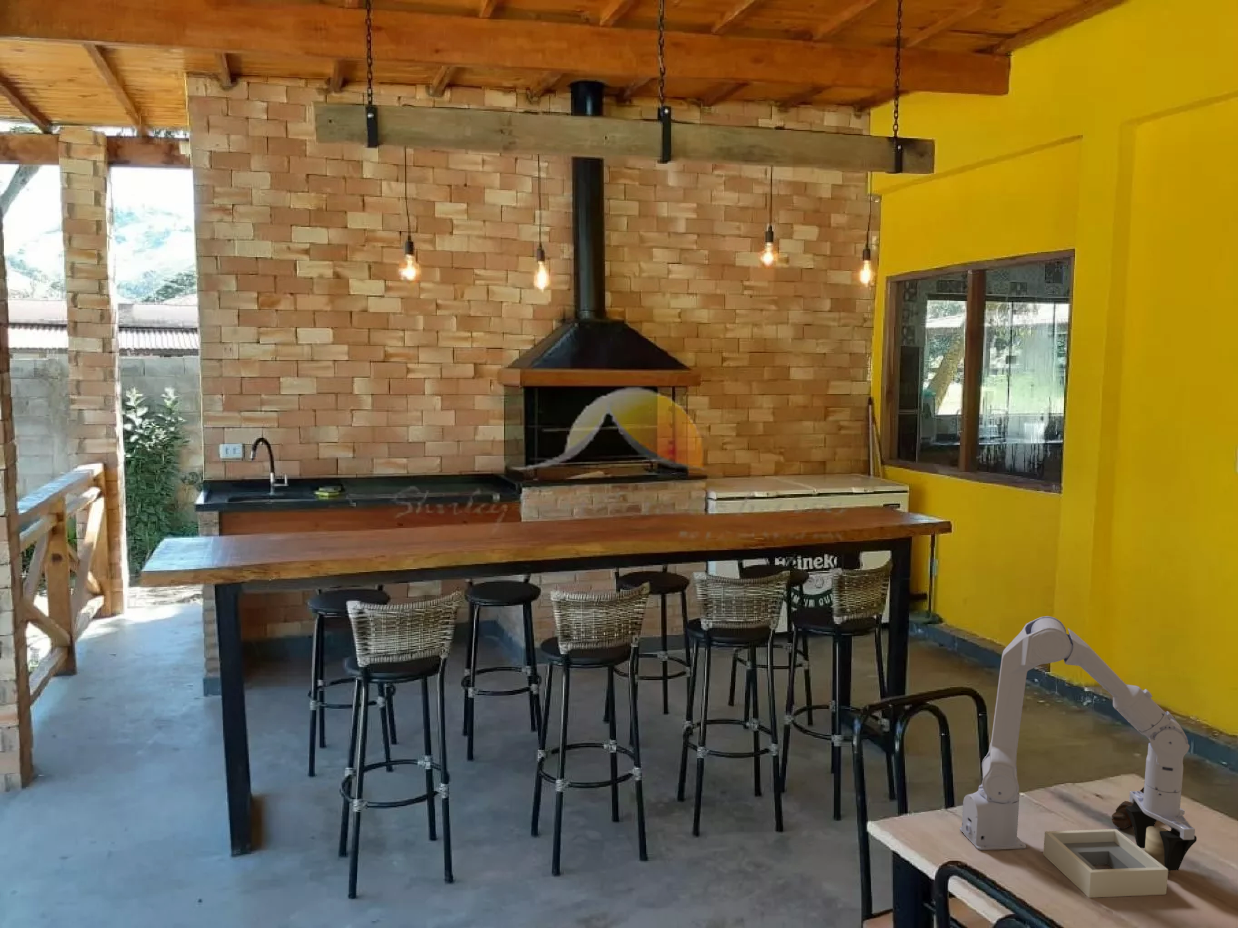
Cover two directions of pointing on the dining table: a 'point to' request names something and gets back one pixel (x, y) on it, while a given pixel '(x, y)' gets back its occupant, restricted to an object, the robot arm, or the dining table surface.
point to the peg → (1155, 843)
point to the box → (1109, 847)
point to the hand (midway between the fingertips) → (1157, 858)
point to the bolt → (1123, 815)
